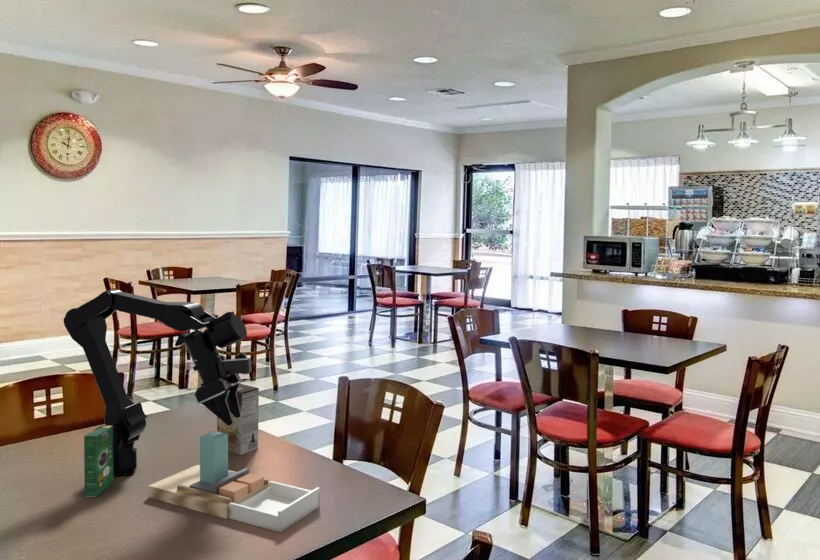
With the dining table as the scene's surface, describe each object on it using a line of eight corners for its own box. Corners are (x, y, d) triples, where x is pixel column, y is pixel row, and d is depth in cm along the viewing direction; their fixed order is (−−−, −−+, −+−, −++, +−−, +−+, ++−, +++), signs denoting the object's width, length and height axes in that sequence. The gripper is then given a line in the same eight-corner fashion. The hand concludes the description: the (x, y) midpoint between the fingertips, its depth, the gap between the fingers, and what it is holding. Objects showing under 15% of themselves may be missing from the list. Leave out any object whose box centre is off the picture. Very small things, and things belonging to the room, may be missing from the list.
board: (148, 497, 138) (148, 480, 138) (197, 475, 151) (197, 460, 150) (226, 518, 129) (225, 501, 128) (271, 493, 141) (271, 477, 141)
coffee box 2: (215, 448, 169) (215, 386, 167) (234, 441, 174) (234, 381, 173) (241, 455, 164) (240, 392, 162) (259, 448, 169) (259, 387, 168)
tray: (228, 518, 129) (228, 498, 129) (271, 494, 141) (271, 476, 140) (280, 532, 124) (280, 511, 123) (319, 506, 135) (319, 487, 135)
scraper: (189, 490, 135) (189, 440, 135) (223, 474, 144) (223, 427, 144) (215, 497, 132) (215, 445, 131) (248, 480, 141) (248, 432, 140)
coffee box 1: (101, 482, 145) (100, 423, 144) (114, 482, 145) (113, 424, 144) (83, 497, 137) (82, 435, 136) (97, 497, 137) (96, 435, 136)
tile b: (219, 497, 133) (219, 488, 132) (232, 490, 136) (232, 481, 136) (234, 501, 131) (234, 491, 131) (248, 494, 134) (248, 485, 134)
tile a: (236, 489, 137) (236, 479, 137) (248, 482, 141) (248, 473, 140) (251, 492, 135) (251, 483, 135) (263, 486, 139) (263, 476, 139)
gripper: (231, 344, 137) (262, 412, 138) (246, 338, 156) (273, 399, 156) (181, 366, 137) (212, 435, 137) (202, 358, 155) (230, 419, 155)
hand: (234, 420), depth 146 cm, fingers open, 9 cm apart
